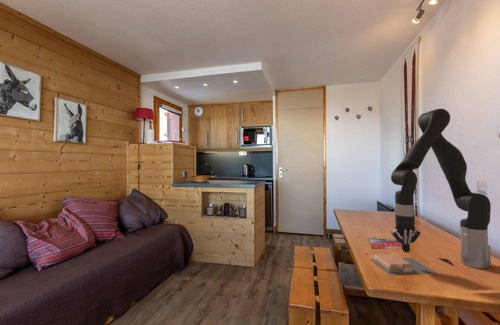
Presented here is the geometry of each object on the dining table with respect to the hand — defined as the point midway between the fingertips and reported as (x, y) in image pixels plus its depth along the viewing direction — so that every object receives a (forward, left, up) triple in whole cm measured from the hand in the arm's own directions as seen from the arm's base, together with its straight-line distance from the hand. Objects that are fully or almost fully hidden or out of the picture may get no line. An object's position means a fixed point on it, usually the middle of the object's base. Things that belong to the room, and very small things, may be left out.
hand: (405, 251), depth 107 cm
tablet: (-9, -27, -8) cm, 30 cm away
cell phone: (-17, -6, -8) cm, 19 cm away
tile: (+2, 0, -5) cm, 5 cm away
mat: (+2, 0, -7) cm, 8 cm away
